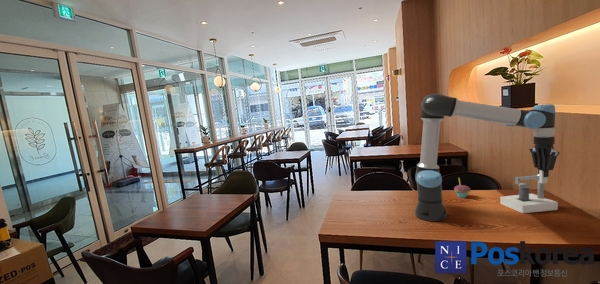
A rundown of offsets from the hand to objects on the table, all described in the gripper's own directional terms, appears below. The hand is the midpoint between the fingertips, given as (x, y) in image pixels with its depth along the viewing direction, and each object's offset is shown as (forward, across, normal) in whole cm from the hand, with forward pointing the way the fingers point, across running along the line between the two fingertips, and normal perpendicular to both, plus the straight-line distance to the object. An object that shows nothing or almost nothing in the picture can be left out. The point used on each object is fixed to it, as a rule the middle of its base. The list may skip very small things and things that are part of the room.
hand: (543, 182), depth 127 cm
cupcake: (+15, +30, +22) cm, 40 cm away
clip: (+2, +7, 0) cm, 7 cm away
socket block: (+15, +7, +1) cm, 17 cm away
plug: (+15, +7, +4) cm, 17 cm away
